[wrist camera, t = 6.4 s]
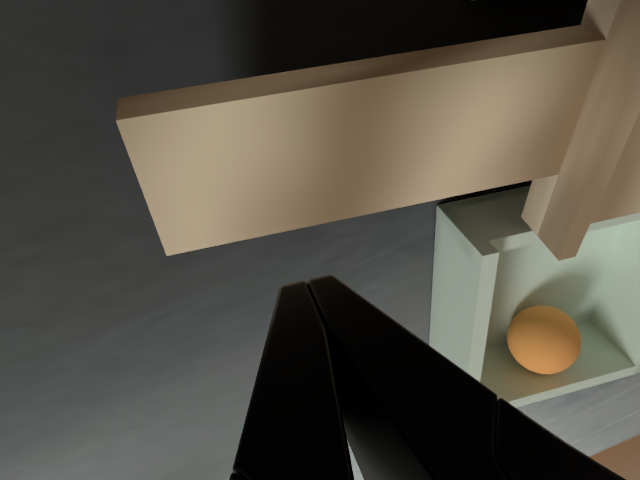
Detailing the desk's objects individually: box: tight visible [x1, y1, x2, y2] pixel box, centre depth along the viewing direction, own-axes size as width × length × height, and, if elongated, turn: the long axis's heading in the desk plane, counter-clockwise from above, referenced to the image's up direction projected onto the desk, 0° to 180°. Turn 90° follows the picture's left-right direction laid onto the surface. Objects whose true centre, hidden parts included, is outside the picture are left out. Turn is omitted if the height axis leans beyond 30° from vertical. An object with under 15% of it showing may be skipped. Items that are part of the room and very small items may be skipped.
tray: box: [429, 185, 640, 408], centre depth 21 cm, size 9×9×4 cm
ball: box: [507, 305, 581, 374], centre depth 22 cm, size 3×3×3 cm
